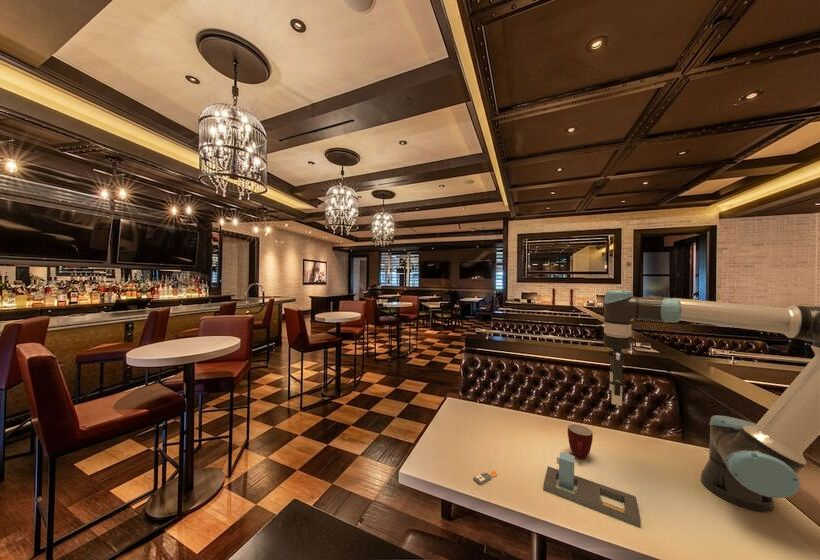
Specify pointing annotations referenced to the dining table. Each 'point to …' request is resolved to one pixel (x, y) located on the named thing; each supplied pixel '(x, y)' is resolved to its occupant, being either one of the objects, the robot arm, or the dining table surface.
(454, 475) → the dining table surface
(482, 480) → the key chain
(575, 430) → the mug
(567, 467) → the plug
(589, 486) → the panel
